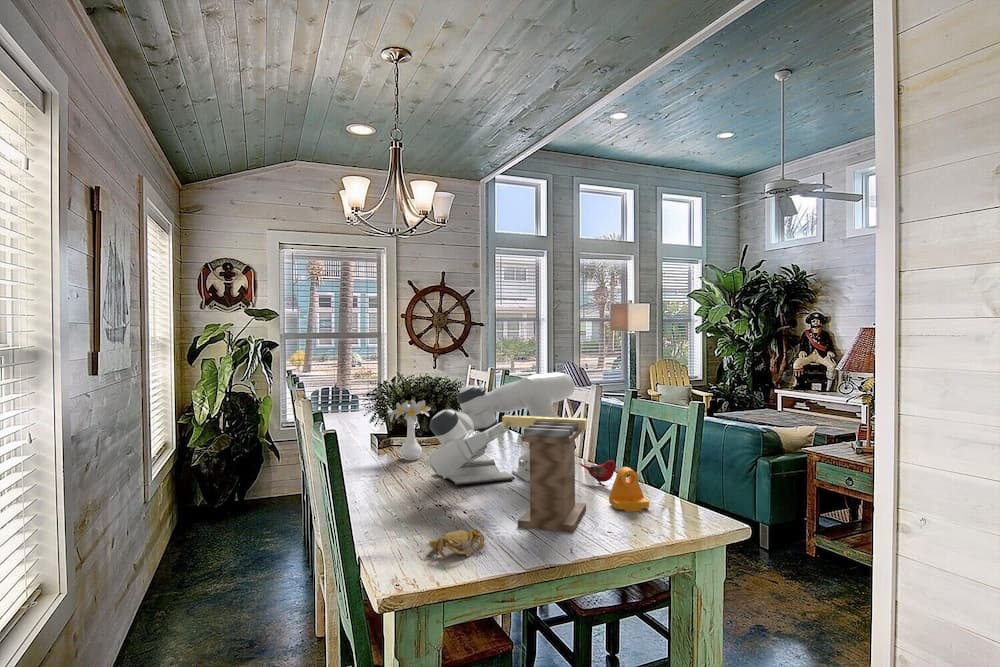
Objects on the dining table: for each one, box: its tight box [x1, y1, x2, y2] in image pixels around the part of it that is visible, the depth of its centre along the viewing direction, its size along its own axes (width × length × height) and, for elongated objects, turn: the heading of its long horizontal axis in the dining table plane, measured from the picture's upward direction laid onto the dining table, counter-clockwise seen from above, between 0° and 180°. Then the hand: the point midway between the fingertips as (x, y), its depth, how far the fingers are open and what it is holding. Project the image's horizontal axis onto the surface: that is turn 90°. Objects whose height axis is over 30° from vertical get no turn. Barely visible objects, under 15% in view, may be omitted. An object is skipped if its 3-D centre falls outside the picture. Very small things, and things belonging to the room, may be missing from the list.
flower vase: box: [386, 399, 432, 461], centre depth 260 cm, size 13×18×25 cm
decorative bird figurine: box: [579, 459, 618, 487], centre depth 218 cm, size 3×18×10 cm, turn 39°
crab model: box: [428, 528, 485, 558], centre depth 158 cm, size 15×13×6 cm
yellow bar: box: [501, 414, 588, 431], centre depth 188 cm, size 26×3×3 cm, turn 72°
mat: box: [441, 458, 516, 488], centre depth 230 cm, size 23×24×5 cm
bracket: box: [608, 466, 650, 512], centre depth 192 cm, size 11×7×12 cm, turn 98°
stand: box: [517, 422, 587, 534], centre depth 182 cm, size 16×21×28 cm
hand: (508, 424), depth 191 cm, fingers open, 8 cm apart
